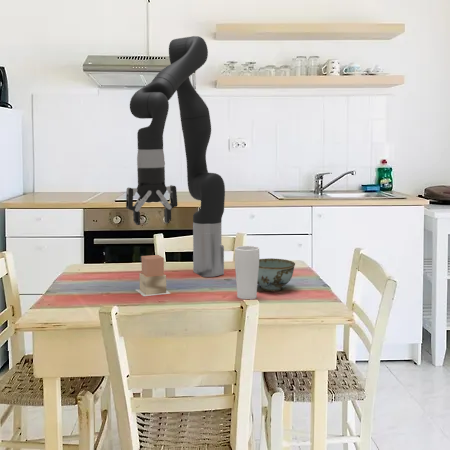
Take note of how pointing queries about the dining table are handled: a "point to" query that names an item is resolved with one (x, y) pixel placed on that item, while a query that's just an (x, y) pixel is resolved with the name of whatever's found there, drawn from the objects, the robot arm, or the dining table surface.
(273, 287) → the bowl
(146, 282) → the beech block
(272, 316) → the dining table surface
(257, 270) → the drinking glass
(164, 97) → the robot arm
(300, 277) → the dining table surface
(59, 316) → the dining table surface
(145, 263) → the rust block
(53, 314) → the dining table surface
